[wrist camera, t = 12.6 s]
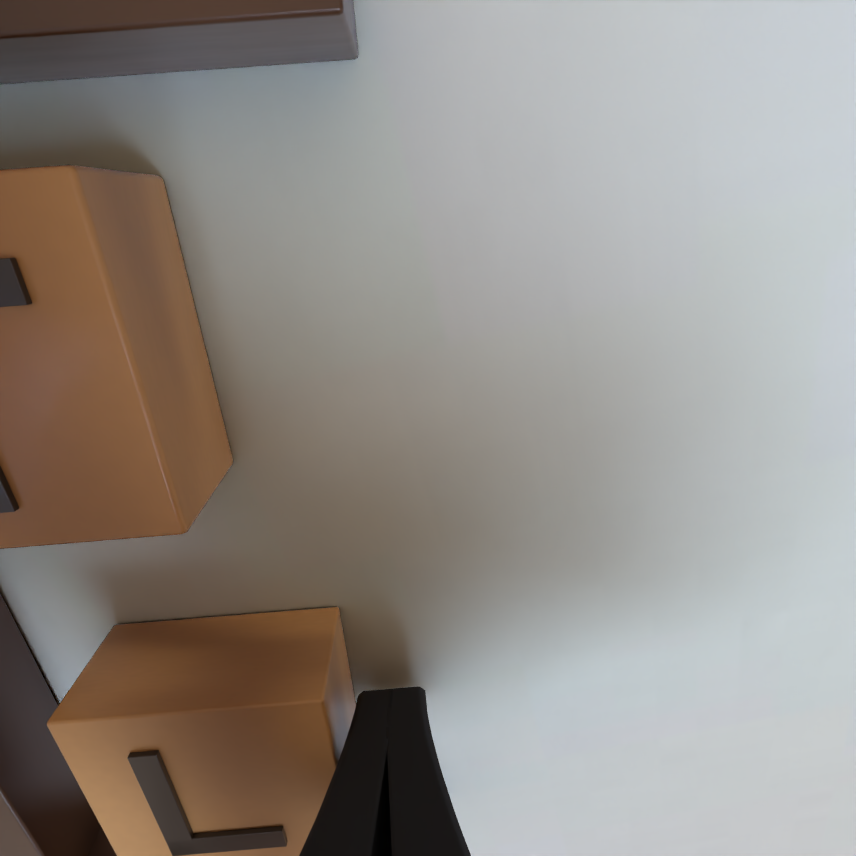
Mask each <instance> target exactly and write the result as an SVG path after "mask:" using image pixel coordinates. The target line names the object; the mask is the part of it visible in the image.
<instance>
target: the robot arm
mask: <svg viewBox="0 0 856 856" xmlns="http://www.w3.org/2000/svg"><path fill="white" fill-rule="evenodd" d="M299 856H471V855H470V852H469V850H468V847H467V844H466V842H465V839H464V836H463V834H462V831H461V829H460V826H459V823H458V820H457V817H456V815H455V812H454V809H453V806H452V803H451V800H450V797H449V794H448V790H447V787H446V784H445V781H444V778H443V775H442V772H441V768H440V765H439V762H438V758H437V754H436V750H435V746H434V742H433V738H432V734H431V730H430V725H429V720H428V714H427V705H426V695H425V690H424V689H422V688H421V687H408V688H396V689H384V690H372V691H363V692H362V693H361V694H360V695H359V696H358V700H357V704H356V708H355V712H354V715H353V719H352V722H351V725H350V729H349V732H348V735H347V738H346V741H345V744H344V747H343V750H342V752H341V755H340V758H339V761H338V764H337V766H336V769H335V772H334V774H333V777H332V779H331V782H330V784H329V787H328V789H327V792H326V795H325V797H324V800H323V802H322V805H321V807H320V810H319V812H318V814H317V817H316V819H315V821H314V824H313V826H312V828H311V830H310V833H309V835H308V837H307V839H306V842H305V844H304V846H303V848H302V850H301V853H300V855H299Z"/></svg>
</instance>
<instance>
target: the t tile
mask: <svg viewBox="0 0 856 856" xmlns="http://www.w3.org/2000/svg"><path fill="white" fill-rule="evenodd" d="M232 464H233V458H232V454H231V450H230V446H229V442H228V438H227V434H226V430H225V426H224V422H223V418H222V414H221V410H220V406H219V402H218V398H217V394H216V390H215V386H214V382H213V378H212V374H211V370H210V366H209V362H208V358H207V354H206V350H205V345H204V341H203V337H202V333H201V329H200V325H199V321H198V317H197V313H196V309H195V305H194V301H193V297H192V293H191V289H190V285H189V281H188V277H187V273H186V269H185V265H184V261H183V257H182V253H181V249H180V245H179V241H178V237H177V233H176V229H175V225H174V221H173V217H172V213H171V209H170V205H169V201H168V197H167V193H166V189H165V185H164V181H163V179H162V178H161V177H160V176H157V175H150V174H142V173H134V172H125V171H117V170H109V169H100V168H92V167H84V166H75V165H57V166H44V167H30V168H16V169H2V170H0V549H4V548H16V547H28V546H41V545H53V544H66V543H78V542H91V541H103V540H115V539H128V538H140V537H153V536H165V535H177V534H183V533H186V532H187V531H188V530H189V528H190V527H191V525H192V524H193V522H194V521H195V519H196V518H197V516H198V515H199V513H200V512H201V510H202V509H203V507H204V506H205V504H206V503H207V501H208V500H209V498H210V497H211V495H212V494H213V492H214V491H215V489H216V488H217V486H218V485H219V483H220V482H221V480H222V479H223V477H224V476H225V474H226V473H227V471H228V470H229V468H230V467H231V465H232Z"/></svg>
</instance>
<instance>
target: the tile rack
mask: <svg viewBox="0 0 856 856" xmlns="http://www.w3.org/2000/svg"><path fill="white" fill-rule="evenodd" d="M358 54H359V53H358V43H357V33H356V23H355V13H354V4H353V0H0V84H8V83H23V82H37V81H51V80H65V79H80V78H94V77H108V76H122V75H137V74H151V73H165V72H180V71H194V70H208V69H222V68H237V67H251V66H265V65H279V64H294V63H308V62H322V61H337V60H351V59H356V58H358ZM57 707H58V705H57V703H56V701H55V699H54V697H53V695H52V693H51V691H50V689H49V687H48V685H47V683H46V681H45V679H44V677H43V675H42V673H41V671H40V669H39V668H38V666H37V664H36V662H35V660H34V658H33V656H32V654H31V652H30V650H29V648H28V646H27V644H26V642H25V640H24V638H23V636H22V634H21V632H20V630H19V629H18V627H17V625H16V623H15V621H14V619H13V617H12V615H11V613H10V611H9V609H8V607H7V605H6V603H5V601H4V599H3V597H2V595H1V593H0V856H117V855H116V853H115V851H114V849H113V848H112V846H111V844H110V842H109V840H108V838H107V836H106V835H105V833H104V831H103V829H102V827H101V825H100V823H99V822H98V820H97V818H96V816H95V814H94V812H93V810H92V808H91V807H90V805H89V803H88V801H87V799H86V797H85V795H84V794H83V792H82V790H81V788H80V786H79V784H78V782H77V781H76V779H75V777H74V775H73V773H72V771H71V769H70V768H69V766H68V764H67V762H66V760H65V758H64V756H63V755H62V753H61V751H60V749H59V747H58V745H57V743H56V742H55V740H54V738H53V736H52V734H51V732H50V730H49V729H48V727H47V721H48V720H49V719H50V717H51V716H52V714H53V713H54V711H55V710H56V708H57Z"/></svg>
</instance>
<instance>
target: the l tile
mask: <svg viewBox="0 0 856 856" xmlns="http://www.w3.org/2000/svg"><path fill="white" fill-rule="evenodd" d="M355 708H356V702H355V696H354V691H353V685H352V679H351V674H350V668H349V662H348V657H347V651H346V645H345V640H344V634H343V628H342V623H341V617H340V611H339V608H338V607H329V608H316V609H304V610H292V611H279V612H267V613H255V614H242V615H230V616H217V617H205V618H193V619H180V620H168V621H156V622H143V623H131V624H118V625H114V626H113V628H112V629H111V631H110V632H109V633H108V635H107V636H106V638H105V639H104V641H103V642H102V644H101V645H100V646H99V648H98V649H97V651H96V652H95V654H94V655H93V657H92V658H91V659H90V661H89V662H88V664H87V665H86V667H85V668H84V669H83V671H82V672H81V674H80V675H79V677H78V678H77V680H76V681H75V682H74V684H73V685H72V687H71V688H70V690H69V691H68V693H67V694H66V695H65V697H64V698H63V700H62V701H61V703H60V704H59V706H58V707H57V708H56V710H55V711H54V713H53V714H52V716H51V717H50V719H49V720H48V721H47V727H48V729H49V730H50V732H51V734H52V736H53V738H54V740H55V742H56V743H57V745H58V747H59V749H60V751H61V753H62V755H63V756H64V758H65V760H66V762H67V764H68V766H69V768H70V769H71V771H72V773H73V775H74V777H75V779H76V781H77V782H78V784H79V786H80V788H81V790H82V792H83V794H84V795H85V797H86V799H87V801H88V803H89V805H90V807H91V808H92V810H93V812H94V814H95V816H96V818H97V820H98V822H99V823H100V825H101V827H102V829H103V831H104V833H105V835H106V836H107V838H108V840H109V842H110V844H111V846H112V848H113V849H114V851H115V853H116V855H117V856H299V855H300V853H301V850H302V848H303V846H304V844H305V842H306V839H307V837H308V835H309V833H310V830H311V828H312V826H313V824H314V821H315V819H316V817H317V814H318V812H319V810H320V807H321V805H322V802H323V800H324V797H325V795H326V792H327V789H328V787H329V784H330V782H331V779H332V777H333V774H334V772H335V769H336V766H337V764H338V761H339V758H340V755H341V752H342V750H343V747H344V744H345V741H346V738H347V735H348V732H349V729H350V725H351V722H352V719H353V715H354V712H355Z"/></svg>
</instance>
